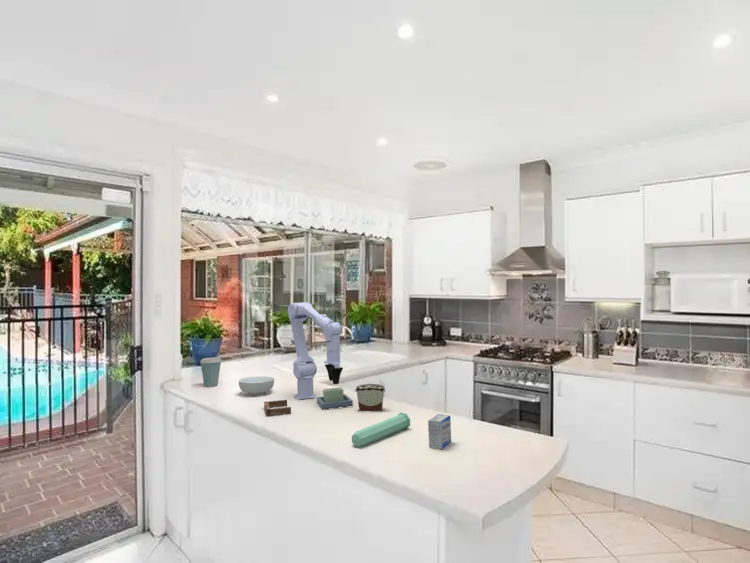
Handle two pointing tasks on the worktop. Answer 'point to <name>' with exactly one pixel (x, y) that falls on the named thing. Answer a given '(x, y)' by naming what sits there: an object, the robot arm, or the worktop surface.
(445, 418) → the medicine box
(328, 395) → the tall sage green block
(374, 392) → the food container
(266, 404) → the holder
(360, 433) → the container
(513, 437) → the worktop surface
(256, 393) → the cereal bowl
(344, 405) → the tray
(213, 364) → the disposable coffee cup
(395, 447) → the worktop surface
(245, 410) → the worktop surface
